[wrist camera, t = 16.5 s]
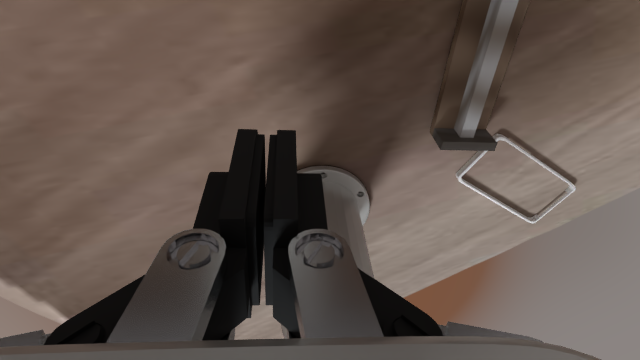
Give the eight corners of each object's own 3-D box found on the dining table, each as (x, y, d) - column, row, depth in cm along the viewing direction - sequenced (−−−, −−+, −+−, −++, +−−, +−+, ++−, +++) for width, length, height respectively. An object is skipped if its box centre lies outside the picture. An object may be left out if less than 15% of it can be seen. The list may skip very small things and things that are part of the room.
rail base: (479, 132, 46) (494, 150, 42) (429, 131, 45) (440, 149, 42) (562, -114, 32) (593, -115, 29) (493, -120, 32) (516, -122, 29)
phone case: (452, 173, 49) (528, 218, 55) (455, 180, 48) (533, 225, 54) (496, 129, 46) (572, 181, 52) (501, 135, 45) (578, 188, 50)
